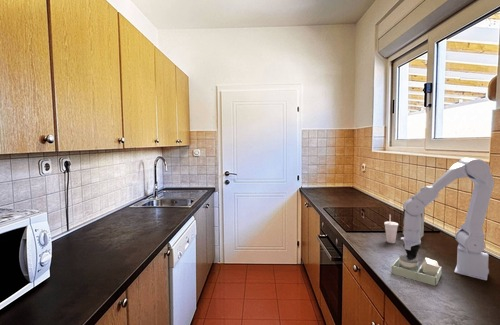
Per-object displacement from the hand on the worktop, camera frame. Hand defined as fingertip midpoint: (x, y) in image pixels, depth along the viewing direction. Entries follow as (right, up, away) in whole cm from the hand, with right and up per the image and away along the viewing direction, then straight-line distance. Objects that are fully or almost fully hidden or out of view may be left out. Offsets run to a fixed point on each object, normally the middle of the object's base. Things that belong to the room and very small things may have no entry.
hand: (411, 261), depth 111 cm
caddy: (-2, -2, -6) cm, 7 cm away
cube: (+1, 0, -9) cm, 9 cm away
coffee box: (+22, +1, +36) cm, 43 cm away
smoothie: (+6, 0, +27) cm, 28 cm away
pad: (+1, -3, -9) cm, 9 cm away
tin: (-3, -2, -3) cm, 5 cm away
